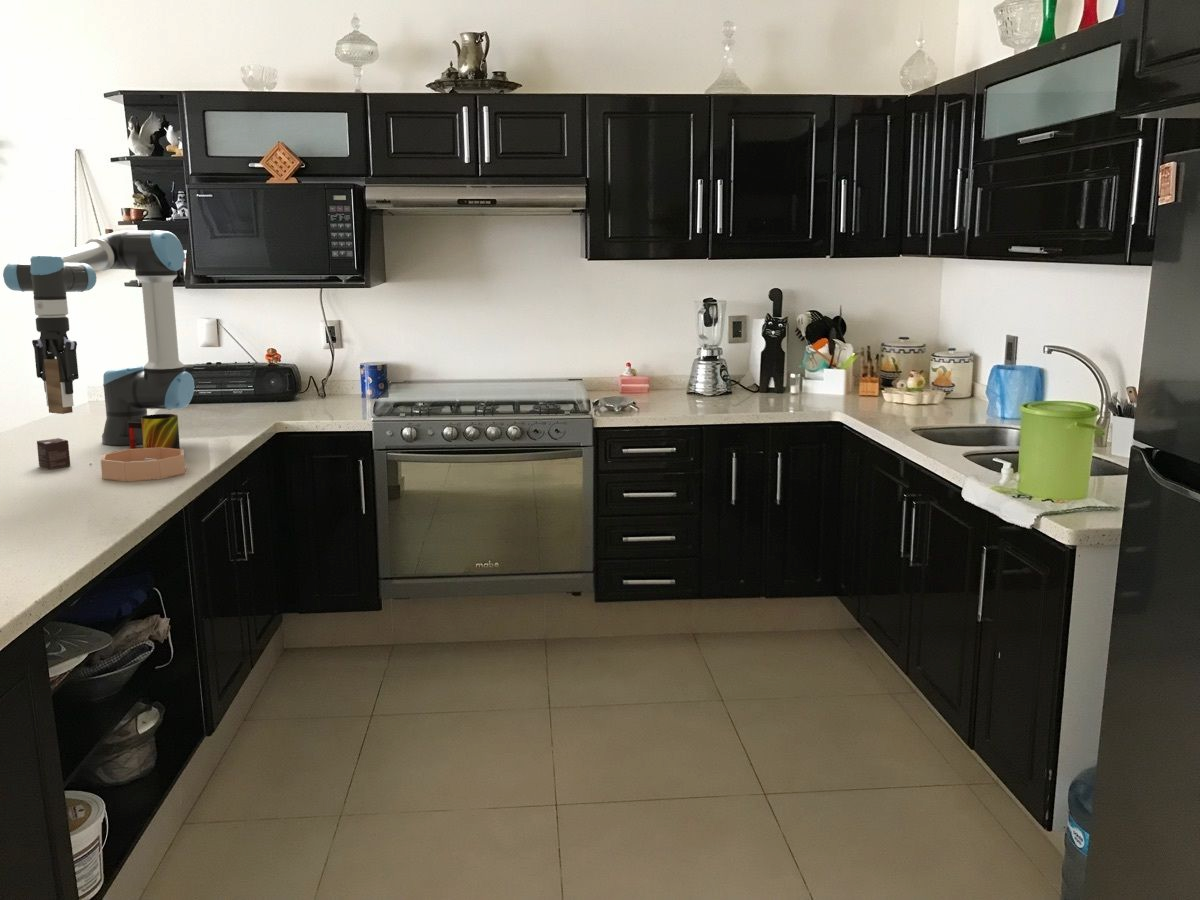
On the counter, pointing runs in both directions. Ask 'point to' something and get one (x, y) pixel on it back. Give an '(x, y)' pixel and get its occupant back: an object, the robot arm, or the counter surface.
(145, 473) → the octagonal terracotta bowl
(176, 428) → the mug
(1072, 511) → the counter surface
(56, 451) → the box
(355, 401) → the counter surface
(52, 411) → the wooden rectangular block
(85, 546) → the counter surface
